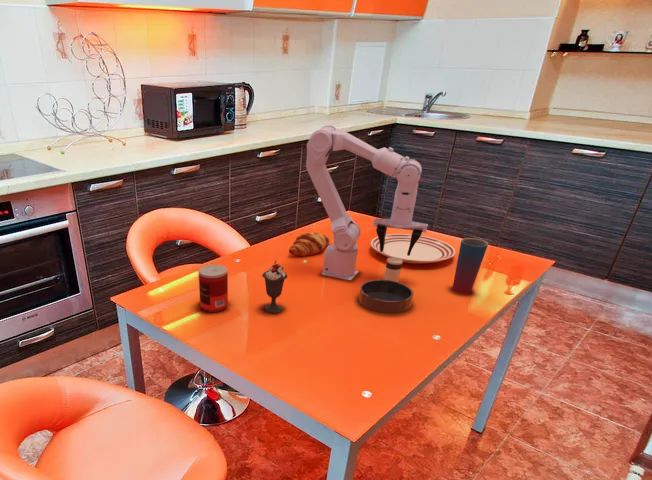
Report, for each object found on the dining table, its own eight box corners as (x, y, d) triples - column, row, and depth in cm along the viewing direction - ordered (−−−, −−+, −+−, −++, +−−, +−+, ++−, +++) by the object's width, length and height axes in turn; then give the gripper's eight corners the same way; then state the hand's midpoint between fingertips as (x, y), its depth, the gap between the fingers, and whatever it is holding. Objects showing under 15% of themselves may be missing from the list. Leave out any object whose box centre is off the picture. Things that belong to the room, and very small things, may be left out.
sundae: (269, 316, 128) (271, 264, 120) (256, 306, 133) (258, 255, 125) (290, 311, 130) (293, 259, 123) (276, 301, 136) (279, 251, 128)
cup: (476, 297, 136) (491, 247, 128) (451, 295, 137) (464, 245, 129) (471, 287, 142) (484, 238, 134) (446, 285, 143) (458, 237, 135)
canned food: (231, 301, 136) (231, 265, 130) (222, 314, 129) (221, 277, 124) (206, 298, 138) (205, 262, 132) (196, 310, 132) (194, 273, 126)
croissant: (321, 250, 178) (315, 229, 177) (342, 243, 170) (336, 222, 169) (283, 264, 166) (276, 242, 165) (304, 258, 158) (297, 235, 157)
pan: (351, 307, 132) (353, 294, 130) (367, 288, 142) (369, 276, 140) (402, 319, 125) (405, 306, 123) (415, 299, 136) (418, 286, 133)
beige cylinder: (380, 285, 143) (385, 260, 139) (385, 280, 147) (389, 255, 142) (395, 289, 141) (400, 263, 137) (399, 283, 144) (404, 258, 140)
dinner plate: (385, 235, 181) (386, 227, 179) (462, 250, 167) (464, 241, 165) (357, 258, 162) (358, 249, 160) (440, 277, 148) (443, 267, 146)
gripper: (374, 207, 133) (367, 253, 140) (429, 213, 128) (419, 260, 135) (378, 201, 139) (371, 245, 146) (432, 206, 134) (422, 252, 141)
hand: (395, 252), depth 141 cm, fingers open, 7 cm apart
